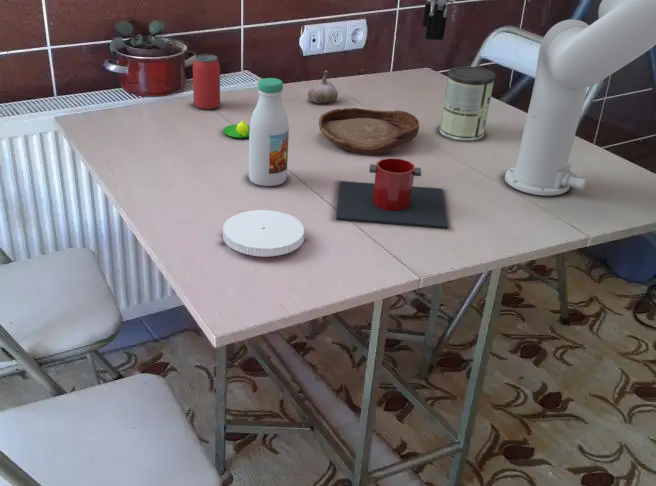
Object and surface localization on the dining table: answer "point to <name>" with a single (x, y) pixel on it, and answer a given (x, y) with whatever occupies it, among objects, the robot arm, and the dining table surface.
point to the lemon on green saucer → (238, 130)
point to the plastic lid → (263, 233)
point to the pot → (393, 183)
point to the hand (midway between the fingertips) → (432, 32)
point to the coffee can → (466, 102)
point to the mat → (421, 211)
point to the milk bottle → (268, 136)
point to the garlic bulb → (323, 91)
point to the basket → (368, 129)
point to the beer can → (206, 81)
